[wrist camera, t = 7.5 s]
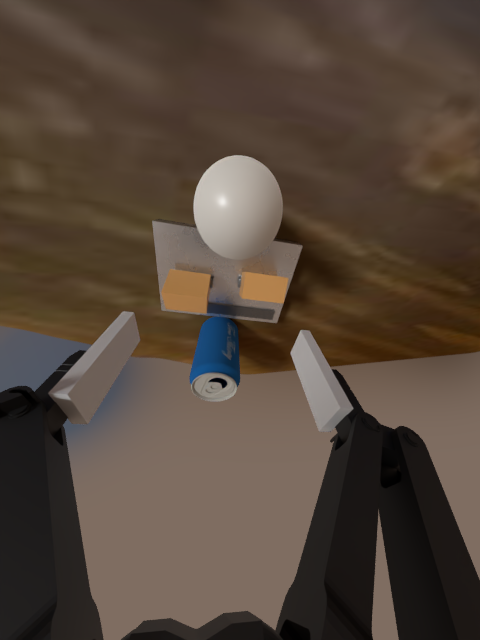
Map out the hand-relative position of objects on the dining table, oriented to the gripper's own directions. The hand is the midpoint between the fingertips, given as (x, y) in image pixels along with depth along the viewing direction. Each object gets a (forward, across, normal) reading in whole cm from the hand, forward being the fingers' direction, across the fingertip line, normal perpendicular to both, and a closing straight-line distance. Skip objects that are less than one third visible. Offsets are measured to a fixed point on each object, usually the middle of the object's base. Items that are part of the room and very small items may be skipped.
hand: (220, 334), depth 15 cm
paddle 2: (+12, +5, 0) cm, 13 cm away
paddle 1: (+12, -4, 0) cm, 13 cm away
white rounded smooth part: (+14, 0, +8) cm, 16 cm away
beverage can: (+14, 0, -10) cm, 18 cm away
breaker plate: (+14, 0, 0) cm, 14 cm away
